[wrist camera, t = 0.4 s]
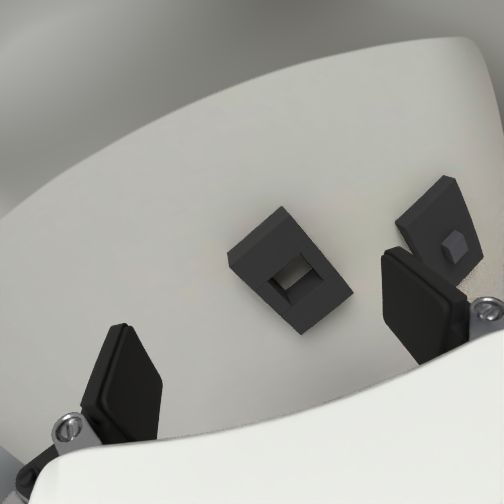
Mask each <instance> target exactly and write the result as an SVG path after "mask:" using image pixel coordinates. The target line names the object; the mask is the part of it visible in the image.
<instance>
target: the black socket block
mask: <svg viewBox="0 0 504 504" xmlns="http://www.w3.org/2000/svg"><path fill="white" fill-rule="evenodd" d="M299 254H301V255H302V256H303V257H304V258H305V259H306V261H307V262H308V263H309V264H310V265H311V266H312V267H313V269H312V270H310V271H309V272H308V273H307V274H306V275H304V276H303V277H302V278H301V279H300V280H298V281H297V282H296V283H295V284H294V285H292V286H291V287H290V288H289V289H287V290H286V291H285V290H284V289H283V288H282V287H281V286H280V285H279V284H278V283H277V282H276V281H275V280H274V279H273V278H272V277H273V276H274V275H275V274H276V273H278V272H279V271H280V270H281V269H282V268H284V267H285V266H286V265H287V264H288V263H289V262H291V261H292V260H293V259H294V258H295V257H297V256H298V255H299ZM227 255H228V262H229V267H230V268H231V269H232V270H233V271H234V272H235V273H236V274H237V275H238V276H239V277H240V278H241V279H242V280H243V281H244V282H245V283H246V284H247V285H248V286H249V287H250V288H251V289H253V290H254V291H255V292H256V293H257V294H258V295H259V296H260V297H261V298H262V299H263V300H264V301H265V302H266V303H267V304H269V305H270V306H271V307H272V308H273V309H274V310H275V311H276V312H277V313H278V314H279V315H280V316H281V317H282V318H283V319H284V320H285V321H286V322H287V323H289V324H290V325H291V326H292V327H293V328H294V329H295V330H296V331H297V332H298V333H299V334H300V335H302V334H303V333H304V332H306V331H307V330H308V329H310V328H311V327H312V326H314V325H315V324H316V323H317V322H319V321H320V320H321V319H322V318H324V317H325V316H326V315H327V314H329V313H330V312H331V311H332V310H334V309H335V308H336V307H337V306H339V305H340V304H341V303H342V302H343V301H345V300H346V299H347V298H348V297H350V296H351V295H352V294H353V293H354V292H353V291H352V290H351V288H350V287H349V286H348V285H347V283H346V282H345V281H344V280H343V278H342V277H341V276H340V275H339V273H338V272H337V271H336V270H335V268H334V267H333V266H332V265H331V263H330V262H329V261H328V260H327V259H326V257H325V256H324V255H323V254H322V252H321V251H320V250H319V249H318V248H317V246H316V245H315V244H314V243H313V242H312V240H311V239H310V238H309V237H308V236H307V234H306V233H305V232H304V231H303V230H302V228H301V227H300V226H299V225H298V224H297V223H296V221H295V220H294V219H293V218H292V217H291V215H290V214H289V213H288V212H287V211H286V210H285V209H284V208H283V207H282V206H281V207H280V208H279V209H277V210H276V211H275V212H274V213H273V214H272V215H270V216H269V217H268V218H267V219H266V220H265V221H264V222H262V223H261V224H260V225H259V226H258V227H257V228H255V229H254V230H253V231H252V232H251V233H250V234H249V235H247V236H246V237H245V238H244V239H243V240H242V241H241V242H239V243H238V244H237V245H236V246H235V247H234V248H233V249H231V250H230V251H229V252H228V253H227Z"/></svg>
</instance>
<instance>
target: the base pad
mask: <svg viewBox="0 0 504 504" xmlns="http://www.w3.org/2000/svg"><path fill="white" fill-rule="evenodd" d="M395 223H396V225H397V227H398V228H399V230H400V232H401V234H402V235H403V237H404V239H405V241H406V242H407V244H408V246H409V248H410V250H411V251H412V253H413V255H414V257H416V258H417V259H419V260H420V261H421V262H423V263H424V264H425V265H427V266H428V267H430V268H431V269H432V270H434V271H435V272H436V273H438V274H439V275H440V276H442V277H443V278H444V279H446V280H447V281H448V282H450V283H451V284H452V285H454V286H455V287H456V286H457V285H458V284H459V283H460V282H461V281H462V280H463V279H464V278H465V277H466V276H467V275H468V274H469V273H470V272H471V271H472V270H473V268H474V267H475V266H476V265H477V264H478V263H479V262H480V261H481V260H482V259H483V257H484V256H483V253H482V249H481V246H480V243H479V240H478V237H477V234H476V231H475V228H474V225H473V222H472V220H471V217H470V214H469V211H468V209H467V206H466V204H465V201H464V199H463V196H462V194H461V191H460V189H459V187H458V184H457V182H456V180H455V178H451V177H448V176H445V175H443V176H442V177H441V178H440V179H439V180H438V181H437V182H436V183H435V184H434V185H433V186H432V187H431V188H430V189H429V190H428V191H427V192H426V193H425V194H424V195H423V196H422V197H421V198H420V199H419V200H418V201H417V202H416V203H415V204H413V205H412V206H411V207H410V208H409V209H408V210H407V211H406V212H405V213H404V214H403V215H402V216H401V217H400V218H399V219H397V220H396V221H395Z"/></svg>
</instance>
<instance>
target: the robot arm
mask: <svg viewBox="0 0 504 504" xmlns="http://www.w3.org/2000/svg"><path fill="white" fill-rule="evenodd" d="M381 271H382V298H383V318H384V321H385V323H386V324H387V325H388V327H389V328H390V329H391V330H392V332H393V333H394V334H395V335H396V336H397V338H398V339H399V340H400V341H401V343H402V344H403V345H404V346H405V348H406V349H407V350H408V351H409V353H410V354H411V355H412V356H413V358H414V359H415V360H416V361H417V363H418V364H419V366H417V367H415V368H412V369H410V370H408V371H406V372H403V373H401V374H399V375H397V376H394V377H392V378H390V379H387V380H385V381H382V382H380V383H377V384H375V385H372V386H370V387H367V388H365V389H362V390H359V391H357V392H354V393H351V394H348V395H345V396H343V397H340V398H337V399H334V400H331V401H328V402H325V403H322V404H319V405H316V406H312V407H309V408H306V409H303V410H299V411H296V412H292V413H289V414H285V415H282V416H278V417H274V418H270V419H266V420H262V421H258V422H254V423H250V424H245V425H241V426H236V427H231V428H227V429H222V430H216V431H211V432H206V433H200V434H194V435H187V436H181V437H173V438H166V439H158V440H157V432H158V422H159V413H160V404H161V396H162V387H163V384H162V379H161V377H160V375H159V373H158V372H157V370H156V368H155V367H154V365H153V363H152V361H151V360H150V358H149V356H148V354H147V352H146V351H145V349H144V347H143V345H142V343H141V341H140V340H139V338H138V336H137V334H136V332H135V330H134V328H133V327H132V326H128V325H127V324H126V323H122V324H118V325H114V326H111V327H110V329H109V332H108V334H107V336H106V339H105V341H104V343H103V346H102V348H101V351H100V353H99V356H98V358H97V361H96V363H95V366H94V368H93V371H92V374H91V376H90V379H89V382H88V384H87V387H86V390H85V393H84V395H83V398H82V401H81V404H80V406H81V407H82V411H81V413H78V412H72V413H68V414H66V415H64V416H62V417H61V418H60V419H59V420H58V421H57V422H56V423H55V425H54V427H53V429H52V434H51V436H52V440H53V442H54V444H53V445H52V446H50V447H49V448H48V449H46V450H45V451H44V452H42V453H41V454H40V455H38V456H37V457H36V458H35V459H33V460H32V461H31V462H29V463H28V464H27V465H25V466H24V467H23V468H22V469H21V470H20V471H19V473H18V474H17V478H16V488H17V491H16V492H15V491H14V490H12V491H11V492H10V494H9V495H8V496H7V497H6V499H5V500H4V501H3V502H2V504H504V302H502V301H501V300H499V299H497V298H494V297H480V298H477V299H476V300H474V301H473V302H472V303H469V302H468V301H467V296H466V295H465V294H464V293H463V292H461V291H460V290H459V289H457V288H456V287H455V286H454V285H452V284H451V283H450V282H448V281H447V280H446V279H444V278H443V277H442V276H440V275H439V274H438V273H436V272H435V271H434V270H432V269H431V268H430V267H428V266H427V265H425V264H424V263H423V262H421V261H420V260H419V259H417V258H416V257H414V256H413V255H412V254H410V253H409V252H407V251H406V250H404V249H403V248H402V247H400V246H398V247H394V248H391V249H388V250H386V251H385V252H384V255H382V256H381Z"/></svg>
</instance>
